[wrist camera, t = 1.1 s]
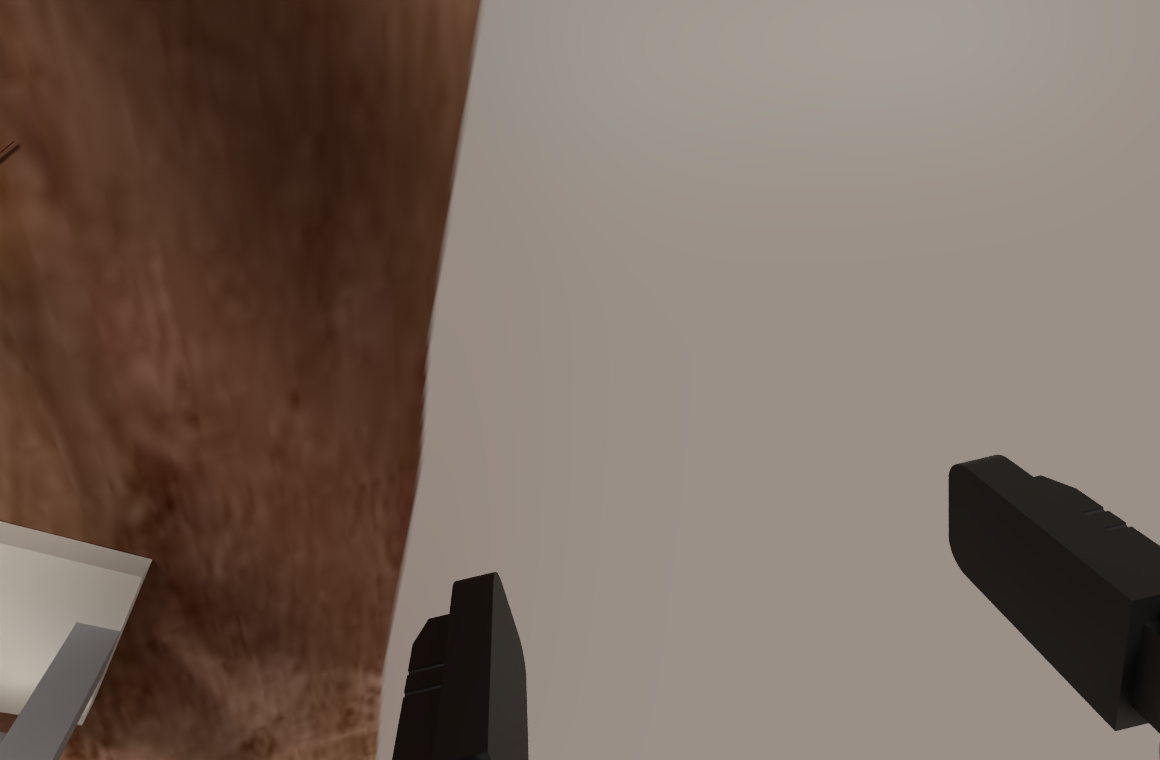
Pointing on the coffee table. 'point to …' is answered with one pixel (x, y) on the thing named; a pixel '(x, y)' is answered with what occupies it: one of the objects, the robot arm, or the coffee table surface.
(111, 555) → the pipe stand
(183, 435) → the coffee table surface
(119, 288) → the coffee table surface
